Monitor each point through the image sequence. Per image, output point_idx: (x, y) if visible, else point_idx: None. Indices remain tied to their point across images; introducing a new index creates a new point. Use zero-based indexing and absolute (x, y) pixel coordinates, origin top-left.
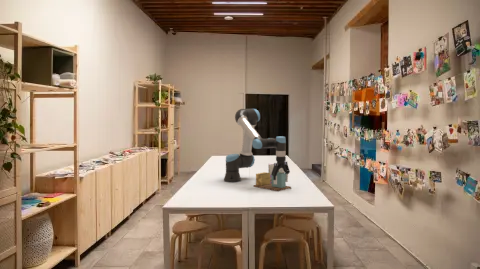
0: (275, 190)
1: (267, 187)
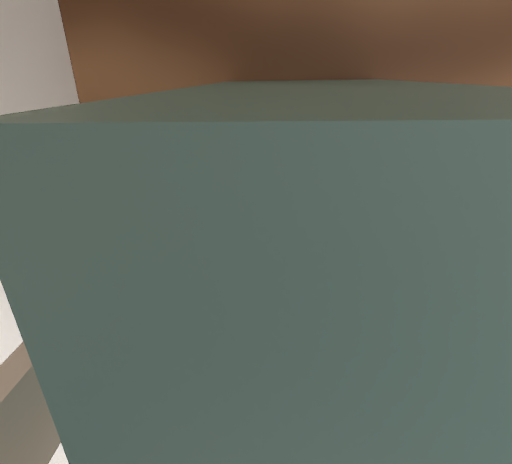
0: None
1: (84, 84)
